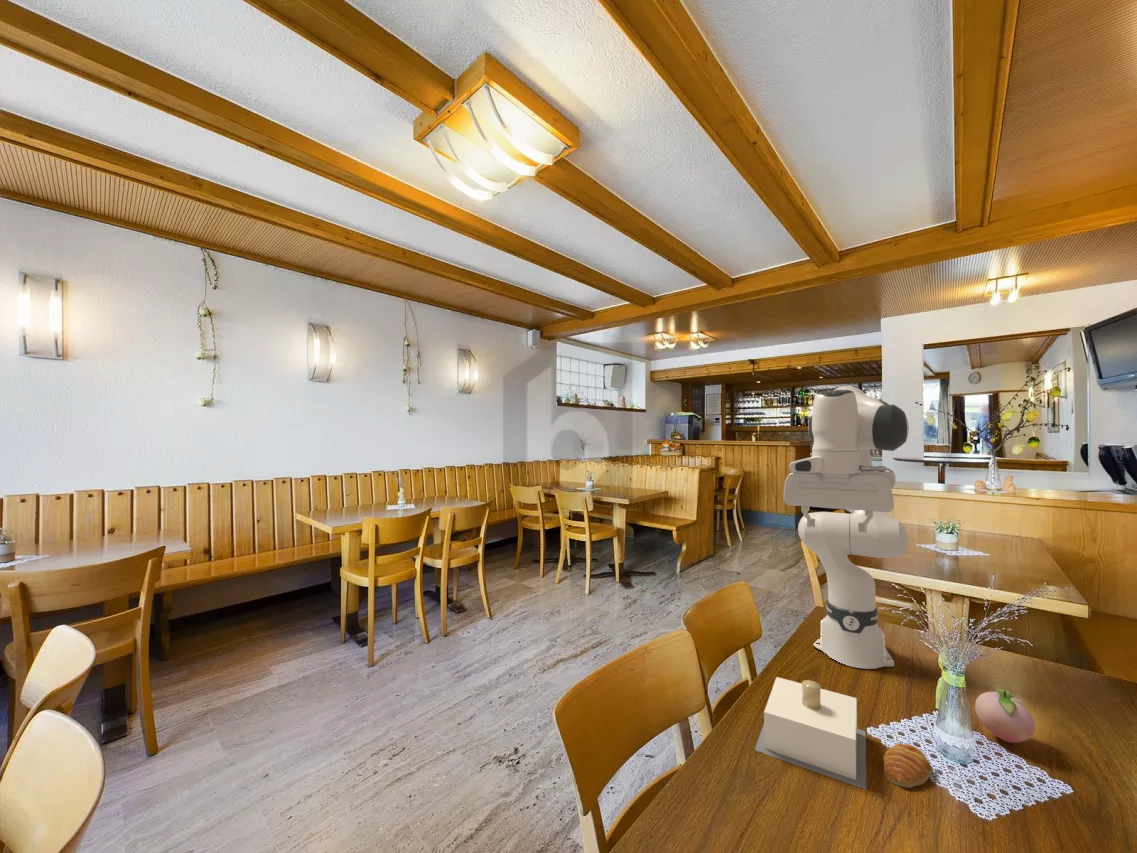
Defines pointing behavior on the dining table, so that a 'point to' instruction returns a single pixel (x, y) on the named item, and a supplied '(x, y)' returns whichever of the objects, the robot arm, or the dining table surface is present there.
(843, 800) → the dining table surface
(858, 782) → the mat
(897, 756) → the pastry
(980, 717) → the decorative fruit
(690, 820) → the dining table surface
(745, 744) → the dining table surface
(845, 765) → the cover
